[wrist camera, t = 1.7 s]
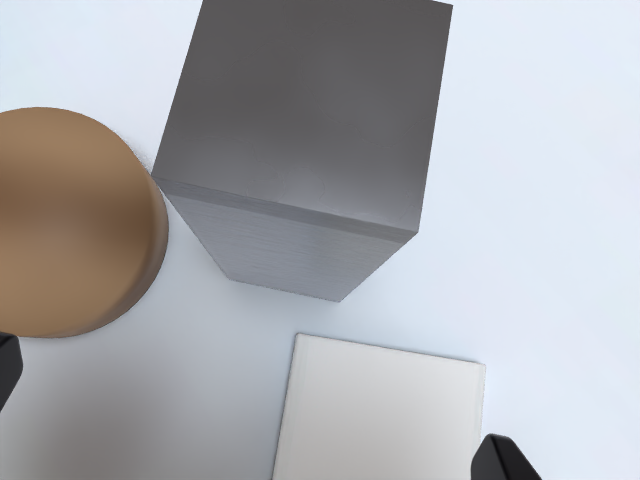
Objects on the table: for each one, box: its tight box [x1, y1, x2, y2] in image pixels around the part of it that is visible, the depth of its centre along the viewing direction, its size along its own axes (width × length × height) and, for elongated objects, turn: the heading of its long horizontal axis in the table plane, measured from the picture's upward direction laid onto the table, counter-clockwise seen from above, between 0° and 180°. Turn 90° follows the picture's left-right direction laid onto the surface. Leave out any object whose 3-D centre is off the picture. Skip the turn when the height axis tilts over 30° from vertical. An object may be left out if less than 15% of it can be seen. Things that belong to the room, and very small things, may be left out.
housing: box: [151, 0, 453, 302], centre depth 16 cm, size 5×5×13 cm
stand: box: [0, 107, 168, 338], centre depth 20 cm, size 9×9×3 cm
